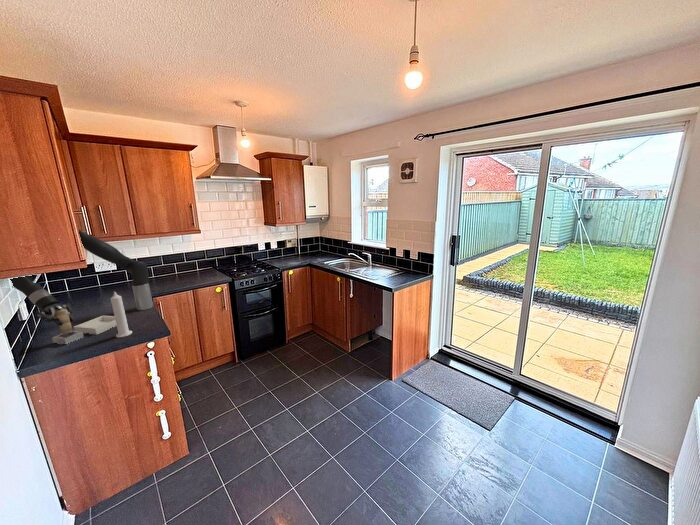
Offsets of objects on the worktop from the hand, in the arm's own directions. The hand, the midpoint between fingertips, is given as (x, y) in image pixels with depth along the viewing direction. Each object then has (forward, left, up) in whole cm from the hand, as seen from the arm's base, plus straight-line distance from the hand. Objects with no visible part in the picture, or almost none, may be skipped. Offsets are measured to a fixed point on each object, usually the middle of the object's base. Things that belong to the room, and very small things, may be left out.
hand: (67, 322), depth 149 cm
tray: (-14, +8, -10) cm, 19 cm away
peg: (-1, -2, -6) cm, 6 cm away
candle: (+4, +24, -11) cm, 27 cm away
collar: (-1, -2, -10) cm, 10 cm away
